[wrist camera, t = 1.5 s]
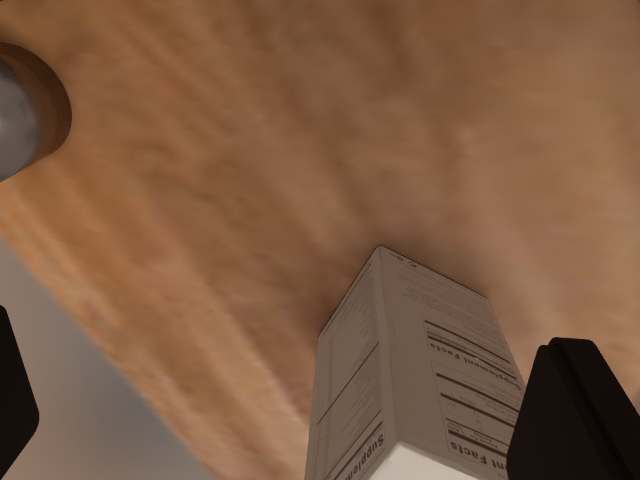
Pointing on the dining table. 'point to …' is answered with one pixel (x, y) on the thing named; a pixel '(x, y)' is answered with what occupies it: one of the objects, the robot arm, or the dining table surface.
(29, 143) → the metal tin
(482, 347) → the supplement box
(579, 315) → the dining table surface
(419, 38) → the dining table surface
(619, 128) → the dining table surface
